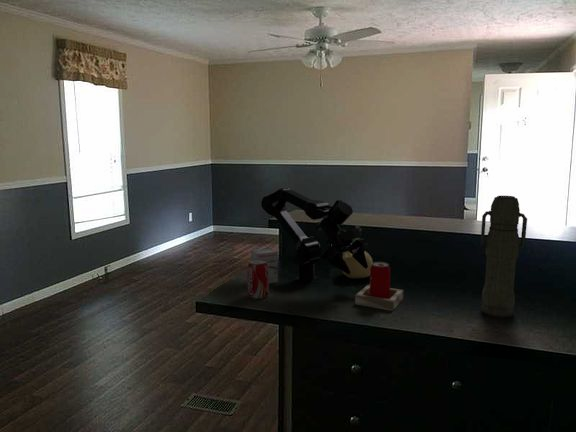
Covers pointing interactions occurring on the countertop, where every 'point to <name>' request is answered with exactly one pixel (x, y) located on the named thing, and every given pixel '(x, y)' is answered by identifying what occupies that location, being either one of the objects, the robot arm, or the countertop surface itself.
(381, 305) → the can holder
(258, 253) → the ink box
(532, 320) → the countertop surface
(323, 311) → the countertop surface
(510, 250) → the thermos
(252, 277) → the soda can
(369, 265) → the sculpture
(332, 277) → the countertop surface
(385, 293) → the beverage can
